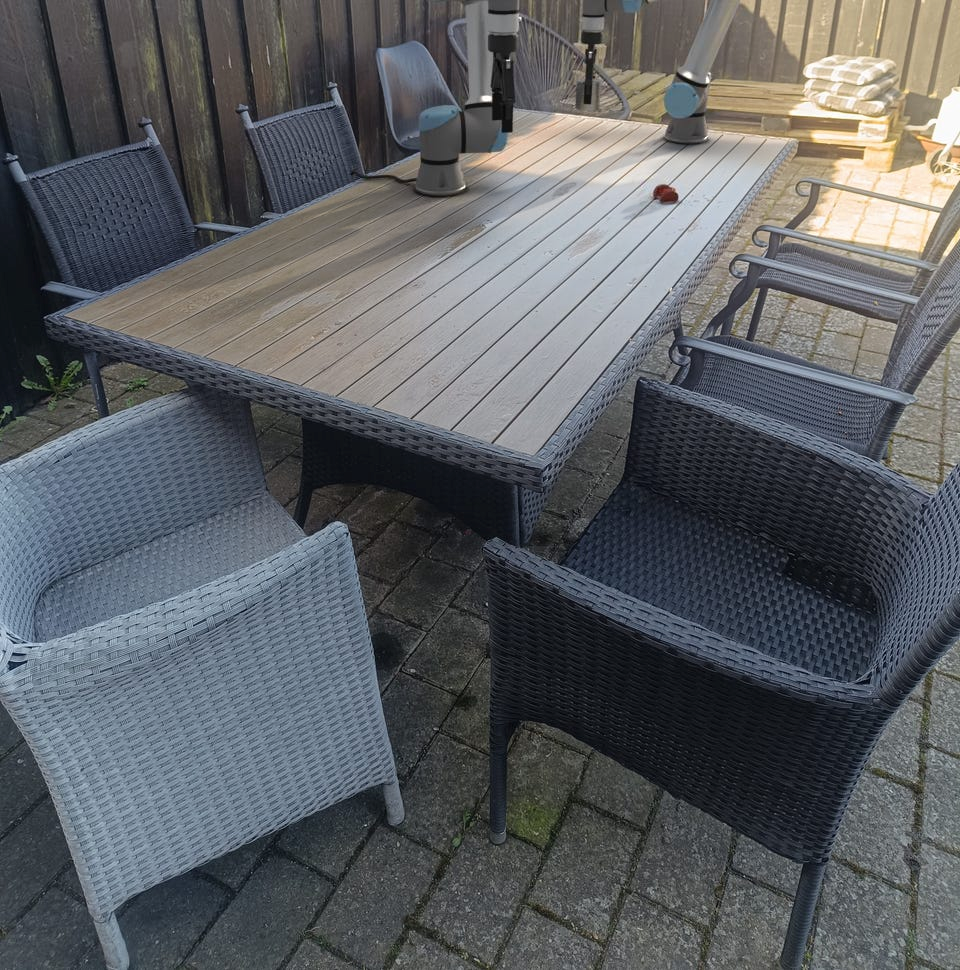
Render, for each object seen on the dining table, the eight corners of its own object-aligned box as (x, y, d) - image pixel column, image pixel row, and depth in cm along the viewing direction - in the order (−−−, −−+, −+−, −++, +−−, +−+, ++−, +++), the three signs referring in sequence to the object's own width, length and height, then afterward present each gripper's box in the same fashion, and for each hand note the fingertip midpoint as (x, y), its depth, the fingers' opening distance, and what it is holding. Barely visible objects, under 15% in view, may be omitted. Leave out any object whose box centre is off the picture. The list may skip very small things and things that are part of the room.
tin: (573, 110, 302) (574, 82, 297) (577, 105, 309) (579, 77, 304) (597, 111, 300) (599, 83, 295) (601, 106, 307) (603, 78, 302)
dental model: (669, 180, 251) (681, 188, 245) (668, 194, 254) (679, 202, 248) (652, 182, 250) (663, 190, 244) (650, 196, 253) (662, 204, 247)
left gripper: (529, 40, 194) (526, 137, 207) (508, 25, 214) (507, 114, 227) (497, 41, 193) (496, 138, 206) (479, 26, 213) (479, 115, 226)
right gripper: (582, 26, 299) (578, 95, 312) (579, 35, 282) (575, 107, 295) (604, 26, 298) (599, 95, 311) (602, 35, 281) (597, 108, 294)
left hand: (502, 126), depth 216 cm, fingers open, 13 cm apart
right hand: (587, 101), depth 303 cm, fingers closed on tin, 9 cm apart
